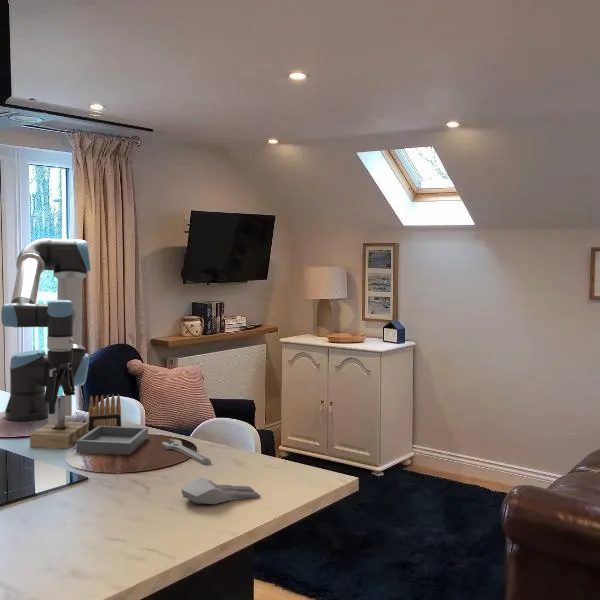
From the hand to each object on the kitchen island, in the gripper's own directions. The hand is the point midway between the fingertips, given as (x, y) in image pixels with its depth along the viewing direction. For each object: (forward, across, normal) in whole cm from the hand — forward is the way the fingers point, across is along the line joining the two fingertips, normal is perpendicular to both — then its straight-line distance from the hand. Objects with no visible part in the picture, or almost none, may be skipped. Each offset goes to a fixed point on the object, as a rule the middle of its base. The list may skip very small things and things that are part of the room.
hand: (60, 419), depth 223 cm
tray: (+7, -2, -18) cm, 19 cm away
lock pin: (+7, 0, 0) cm, 7 cm away
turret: (+7, -43, -60) cm, 74 cm away
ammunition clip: (+7, +15, -9) cm, 19 cm away
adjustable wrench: (+7, -7, -42) cm, 43 cm away
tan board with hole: (+7, 0, 0) cm, 7 cm away
